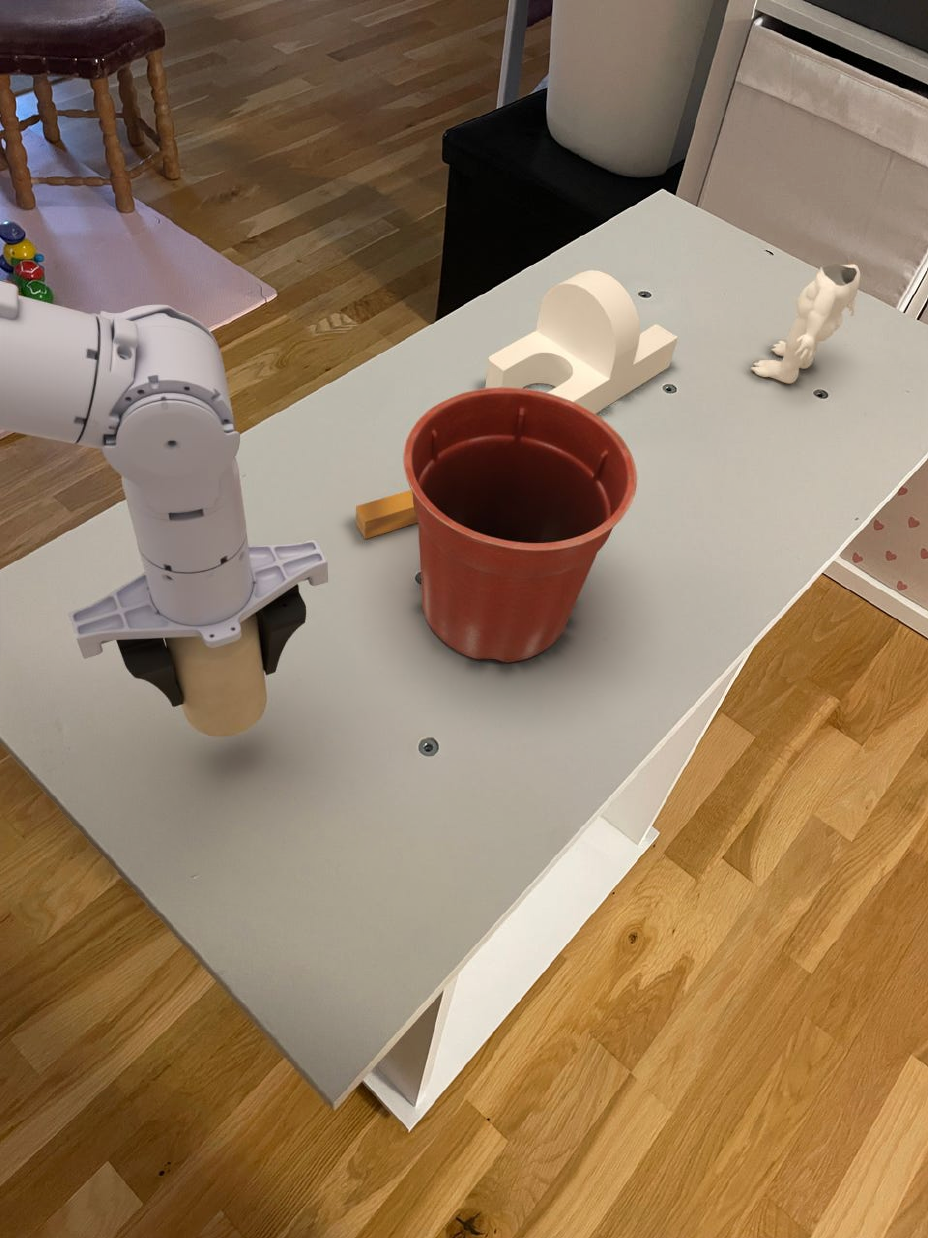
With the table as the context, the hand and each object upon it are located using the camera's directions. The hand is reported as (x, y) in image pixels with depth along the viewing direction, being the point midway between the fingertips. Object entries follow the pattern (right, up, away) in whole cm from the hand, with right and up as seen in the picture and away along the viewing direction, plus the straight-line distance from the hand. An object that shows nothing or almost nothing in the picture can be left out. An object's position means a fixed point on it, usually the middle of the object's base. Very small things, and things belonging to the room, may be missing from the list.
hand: (219, 678), depth 64 cm
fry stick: (+13, +14, +25) cm, 31 cm away
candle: (0, -2, +2) cm, 3 cm away
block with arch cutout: (+27, +28, +38) cm, 55 cm away
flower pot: (+18, +5, +18) cm, 26 cm away
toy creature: (+50, +30, +42) cm, 72 cm away
